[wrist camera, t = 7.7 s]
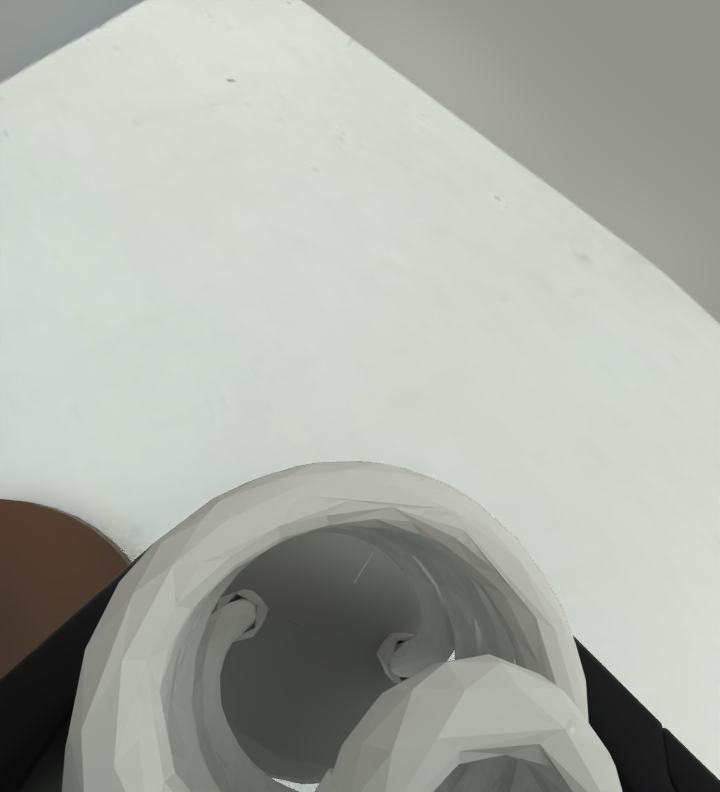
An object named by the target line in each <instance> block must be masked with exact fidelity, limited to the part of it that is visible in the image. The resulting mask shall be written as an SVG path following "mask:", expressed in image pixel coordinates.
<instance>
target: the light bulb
mask: <svg viewBox="0 0 720 792" xmlns="http://www.w3.org/2000/svg"><path fill="white" fill-rule="evenodd" d="M454 650H455V660H452V661H447V660H448V658H449V657H450V656H451V654H452V653H453V651H454ZM271 777H272V778H277V779H281V780H286V781H291V782H295V783H300V784H315V783H320V784H319V786H318V787H317V789H316V790H315V792H622V788H621V785H620V781H619V777H618V773H617V770H616V766H615V764H614V762H613V760H612V758H611V756H610V753H609V752H608V750H607V749H606V747H605V746H604V744H603V743H602V742H601V740H600V739H599V737H598V736H597V734H596V733H595V731H594V730H593V729H592V727H591V726H590V724H589V721H588V706H587V690H586V679H585V675H584V672H583V668H582V665H581V661H580V658H579V654H578V651H577V647H576V644H575V641H574V638H573V635H572V633H571V630H570V627H569V625H568V622H567V619H566V616H565V614H564V611H563V608H562V606H561V604H560V602H559V600H558V599H557V597H556V595H555V593H554V592H553V590H552V588H551V586H550V585H549V583H548V581H547V579H546V578H545V576H544V574H543V573H542V571H541V570H540V568H539V567H538V566H537V564H536V563H535V562H534V560H533V559H532V557H531V556H530V555H529V553H528V552H527V551H526V549H525V548H524V547H523V545H522V544H521V542H520V541H519V540H518V538H517V537H516V536H514V535H513V534H512V533H511V532H510V531H509V530H508V529H507V528H506V527H504V526H503V525H502V524H501V523H500V522H499V521H498V520H497V519H496V518H494V517H493V516H492V515H491V514H490V513H489V512H488V511H487V510H486V509H484V508H483V507H482V506H481V505H480V504H479V503H478V502H476V501H474V500H473V499H471V498H469V497H468V496H466V495H465V494H463V493H461V492H460V491H458V490H457V489H455V488H453V487H452V486H450V485H448V484H446V483H443V482H441V481H438V480H435V479H433V478H430V477H427V476H425V475H422V474H419V473H417V472H414V471H411V470H409V469H406V468H401V467H396V466H391V465H386V464H381V463H372V462H361V461H356V462H322V463H312V464H307V465H301V466H296V467H293V468H289V469H286V470H283V471H280V472H276V473H273V474H270V475H267V476H263V477H260V478H258V479H255V480H253V481H250V482H248V483H245V484H243V485H241V486H239V487H237V488H234V489H232V490H230V491H228V492H226V493H224V494H222V495H219V496H217V497H215V498H213V499H212V500H210V501H209V502H208V503H206V504H205V505H204V506H202V507H201V508H200V509H198V510H197V511H196V512H194V513H193V514H192V515H190V516H189V517H188V518H186V519H185V520H184V521H183V522H181V523H180V524H179V525H177V526H176V527H175V528H173V529H172V530H171V531H169V532H168V533H167V534H165V535H164V536H163V537H161V538H160V539H159V540H157V541H156V542H155V543H154V544H153V545H152V546H151V547H150V548H149V549H148V551H147V552H146V553H145V554H144V555H143V556H142V557H141V558H140V559H139V561H138V562H137V563H136V564H135V565H134V566H133V567H132V568H131V570H130V571H129V572H128V573H127V574H126V575H125V576H124V577H123V578H122V580H121V581H120V582H119V583H118V585H117V587H116V589H115V591H114V593H113V595H112V597H111V599H110V601H109V603H108V605H107V607H106V609H105V611H104V613H103V615H102V617H101V619H100V621H99V623H98V625H97V627H96V629H95V631H94V633H93V635H92V637H91V639H90V641H89V643H88V645H87V647H86V649H85V653H84V658H83V663H82V668H81V673H80V678H79V683H78V688H77V693H76V698H75V703H74V708H73V713H72V718H71V723H70V728H69V734H68V738H67V742H66V746H65V758H64V770H63V783H62V792H298V791H296V790H294V789H291V788H289V787H287V786H285V785H283V784H280V783H278V782H276V781H275V780H273V779H272V778H271Z"/></svg>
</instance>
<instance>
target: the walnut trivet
mask: <svg viewBox="0 0 720 792" xmlns="http://www.w3.org/2000/svg"><path fill="white" fill-rule="evenodd" d="M131 563H132V562H131V561H130V560H129V558H128V557H127V556H126V555H125V554H124V553H123V552H122V551H121V550H120V549H119V547H118V546H117V545H116V544H115V543H114V542H113V541H111V540H110V539H109V538H108V537H106V536H105V535H104V534H103V533H101V532H100V531H99V530H98V529H96V528H95V527H93V526H91V525H90V524H88V523H86V522H84V521H83V520H81V519H79V518H78V517H75V516H73V515H70V514H68V513H65V512H63V511H61V510H58V509H56V508H52V507H48V506H44V505H40V504H35V503H31V502H22V501H13V500H4V499H0V678H2V677H3V676H4V675H5V674H6V673H7V672H8V671H10V670H11V669H12V668H13V667H14V666H15V665H16V664H17V663H19V662H20V661H21V660H22V659H23V658H24V657H25V656H27V655H28V654H29V653H30V652H31V651H32V650H33V649H34V648H36V647H37V646H38V645H39V644H40V643H41V642H42V641H44V640H45V639H46V638H47V637H48V636H49V635H50V634H51V633H53V632H54V631H55V630H56V629H57V628H58V627H59V626H61V625H62V624H63V623H64V622H65V621H66V620H67V619H69V618H70V617H71V616H72V615H73V614H74V613H75V612H76V611H78V610H79V609H80V608H81V607H82V606H83V605H84V604H86V603H87V602H88V601H89V600H90V599H91V598H92V597H93V596H95V595H96V594H97V593H98V592H99V591H100V590H101V589H103V588H104V587H105V586H106V585H107V584H108V583H109V582H110V581H112V580H113V579H114V578H115V577H116V576H117V575H118V574H120V573H121V572H122V571H123V570H124V569H125V568H126V567H127V566H129V565H130V564H131Z"/></svg>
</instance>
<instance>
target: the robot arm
mask: <svg viewBox="0 0 720 792" xmlns="http://www.w3.org/2000/svg"><path fill="white" fill-rule="evenodd" d="M152 545H153V544H152ZM152 545H151V546H152ZM151 546H150V547H151ZM150 547H149V548H150ZM149 548H148V549H149ZM148 549H147V550H146V551H144V552H143V553H142V554H141V555H140V556H139V557H138V558H137V559H135V560H134V561H133V562H132V563H131V564H130V565H129V566H127V567H126V568H125V569H124V570H123V571H122V572H121V573H120V574H118V575H117V576H116V577H115V578H114V579H113V580H112V581H110V582H109V583H108V584H107V585H106V586H105V587H104V588H103V589H101V590H100V591H99V592H98V593H97V594H96V595H95V596H93V597H92V598H91V599H90V600H89V601H88V602H87V603H86V604H84V605H83V606H82V607H81V608H80V609H79V610H78V611H76V612H75V613H74V614H73V615H72V616H71V617H70V618H69V619H67V620H66V621H65V622H64V623H63V624H62V625H61V626H59V627H58V628H57V629H56V630H55V631H54V632H53V633H51V634H50V635H49V636H48V637H47V638H46V639H45V640H44V641H42V642H41V643H40V644H39V645H38V646H37V647H36V648H34V649H33V650H32V651H31V652H30V653H29V654H28V655H27V656H25V657H24V658H23V659H22V660H21V661H20V662H19V663H17V664H16V665H15V666H14V667H13V668H12V669H11V670H10V671H8V672H7V673H6V674H5V675H4V676H3V677H2V678H0V792H62V783H63V770H64V758H65V746H66V742H67V738H68V734H69V728H70V723H71V718H72V713H73V708H74V703H75V698H76V693H77V688H78V683H79V678H80V673H81V668H82V663H83V658H84V653H85V649H86V647H87V645H88V643H89V641H90V639H91V637H92V635H93V633H94V631H95V629H96V627H97V625H98V623H99V621H100V619H101V617H102V615H103V613H104V611H105V609H106V607H107V605H108V603H109V601H110V599H111V597H112V595H113V593H114V591H115V589H116V587H117V585H118V583H119V582H120V581H121V580H122V578H123V577H124V576H125V575H126V574H127V573H128V572H129V571H130V570H131V568H132V567H133V566H134V565H135V564H136V563H137V562H138V561H139V559H140V558H141V557H142V556H143V555H144V554H145V553H146V552H147V551H148ZM573 638H574V641H575V644H576V647H577V651H578V654H579V658H580V661H581V665H582V668H583V672H584V675H585V679H586V690H587V706H588V721H589V724H590V726H591V727H592V729H593V730H594V731H595V733H596V734H597V736H598V737H599V739H600V740H601V742H602V743H603V744H604V746H605V747H606V749H607V750H608V752H609V753H610V756H611V758H612V760H613V762H614V764H615V766H616V770H617V773H618V777H619V781H620V785H621V788H622V792H720V780H719V779H718V778H717V777H716V776H715V775H714V774H713V773H712V772H711V771H710V770H708V769H707V768H706V767H705V766H704V765H703V764H702V763H701V762H700V761H699V760H698V759H697V758H696V757H695V756H694V755H693V754H692V753H691V752H690V751H689V750H688V749H687V748H686V747H685V746H684V745H683V744H682V743H681V742H680V741H679V740H678V739H677V738H676V737H675V736H674V735H673V734H672V733H671V732H670V731H669V730H668V729H666V728H662V724H661V723H660V722H659V721H658V720H657V719H656V718H655V717H654V716H653V715H652V714H651V713H650V712H649V711H648V710H647V709H646V708H645V707H644V706H643V705H642V704H641V703H640V702H639V701H638V700H637V699H636V698H635V697H634V696H633V695H632V694H631V693H630V692H629V691H628V690H627V689H626V688H625V687H624V686H623V685H622V684H621V683H620V682H619V681H618V680H617V679H616V678H615V677H614V676H613V675H612V674H611V673H610V672H609V671H608V670H607V669H606V668H605V667H604V666H603V665H602V664H601V663H600V662H599V661H598V660H597V659H596V658H595V657H594V656H593V655H592V654H591V653H590V652H589V651H588V650H587V649H586V648H585V647H584V646H583V645H582V644H581V643H580V642H579V641H578V640H577V639H576V638H575V637H574V636H573Z"/></svg>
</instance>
